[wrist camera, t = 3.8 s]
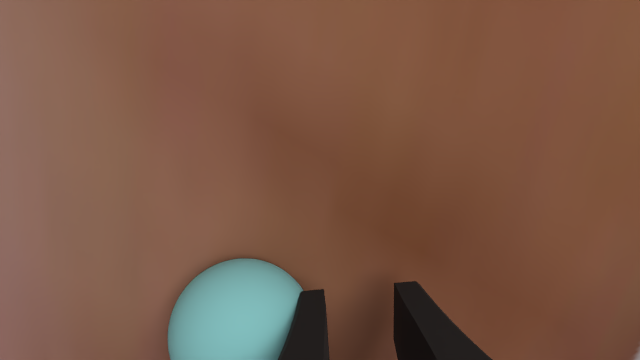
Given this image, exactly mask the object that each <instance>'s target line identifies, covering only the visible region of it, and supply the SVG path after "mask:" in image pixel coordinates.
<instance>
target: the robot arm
mask: <svg viewBox="0 0 640 360" xmlns="http://www.w3.org/2000/svg"><path fill="white" fill-rule="evenodd" d="M394 343H395V348H396V353H397V358H398V360H492V359H491V358H490V357H489V356H488V355H486V354H485V353H484V352H483V351H482V350H481V349H480V348H479V347H478V346H477V345H475V344H474V343H473V342H472V341H471V340H470V339H469V338H468V337H467V336H466V335H465V334H464V333H463V332H462V331H461V330H460V329H459V328H458V327H457V326H456V325H455V324H454V323H453V322H452V321H451V320H450V319H449V318H448V317H447V315H446V314H445V313H444V312H443V311H442V310H441V309H440V308H439V307H438V306H437V304H436V303H435V302H434V301H433V300H432V299H431V298H430V296H429V295H428V294H427V293H426V292H425V290H424V289H423V288H422V287H421V286H420V284H418V283H417V282H416V281H413V282H402V283H394ZM278 360H329V346H328V331H327V317H326V304H325V296H324V289H321V290H310V291H302V292H301V293H300V295H299V297H298V301H297V306H296V311H295V314H294V318H293V321H292V324H291V327H290V330H289V333H288V336H287V338H286V341H285V344H284V346H283V349H282V351H281V353H280V355H279V358H278Z"/></svg>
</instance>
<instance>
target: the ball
mask: <svg viewBox="0 0 640 360" xmlns="http://www.w3.org/2000/svg"><path fill="white" fill-rule="evenodd" d="M302 291H303V289H302V288H301V286H300V285H299V284H298V283H297V282H296V280H295V279H294V278H292V277H291V276H290V275H289V274H288V273H287V272H285V271H284V270H283V269H281V268H279V267H277V266H275V265H273V264H271V263H268V262H265V261H262V260H258V259H250V258H247V259H232V260H228V261H224V262H221V263H218V264H216V265H214V266H212V267H210V268H208V269H206V270H205V271H203V272H202V273H200V274H199V275H198V276H196V277H195V278H194V279H193V280H192V281H191V282H190V283H189V284H188V285H187V286H186V288H185V289H184V290H183V292H182V293H181V295H180V296H179V298H178V300H177V302H176V304H175V306H174V308H173V311H172V314H171V317H170V322H169V327H168V350H169V355H170V359H171V360H278V358H279V355H280V353H281V351H282V349H283V346H284V344H285V341H286V338H287V336H288V333H289V330H290V327H291V324H292V321H293V318H294V314H295V311H296V306H297V301H298V297H299V295H300V293H301V292H302Z"/></svg>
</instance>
